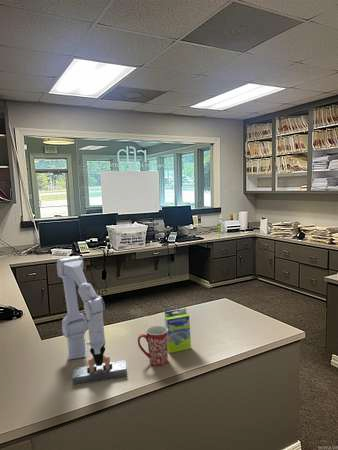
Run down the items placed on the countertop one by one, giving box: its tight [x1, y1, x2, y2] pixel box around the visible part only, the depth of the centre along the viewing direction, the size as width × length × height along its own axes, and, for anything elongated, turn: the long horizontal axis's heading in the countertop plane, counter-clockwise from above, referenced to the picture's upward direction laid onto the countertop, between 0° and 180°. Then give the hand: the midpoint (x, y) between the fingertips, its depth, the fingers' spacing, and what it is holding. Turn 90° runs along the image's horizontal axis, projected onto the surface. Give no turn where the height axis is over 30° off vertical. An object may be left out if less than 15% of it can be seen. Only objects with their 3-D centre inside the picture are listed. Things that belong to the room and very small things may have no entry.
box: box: [164, 307, 192, 354], centre depth 144 cm, size 11×4×17 cm, turn 108°
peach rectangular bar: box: [87, 353, 111, 373], centre depth 127 cm, size 2×8×6 cm, turn 102°
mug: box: [137, 325, 169, 367], centre depth 135 cm, size 13×9×14 cm
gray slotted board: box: [71, 359, 128, 386], centre depth 128 cm, size 7×20×3 cm, turn 102°
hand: (99, 363), depth 127 cm, fingers closed on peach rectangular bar, 2 cm apart
